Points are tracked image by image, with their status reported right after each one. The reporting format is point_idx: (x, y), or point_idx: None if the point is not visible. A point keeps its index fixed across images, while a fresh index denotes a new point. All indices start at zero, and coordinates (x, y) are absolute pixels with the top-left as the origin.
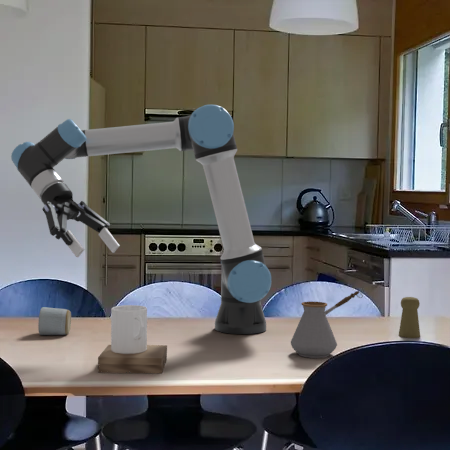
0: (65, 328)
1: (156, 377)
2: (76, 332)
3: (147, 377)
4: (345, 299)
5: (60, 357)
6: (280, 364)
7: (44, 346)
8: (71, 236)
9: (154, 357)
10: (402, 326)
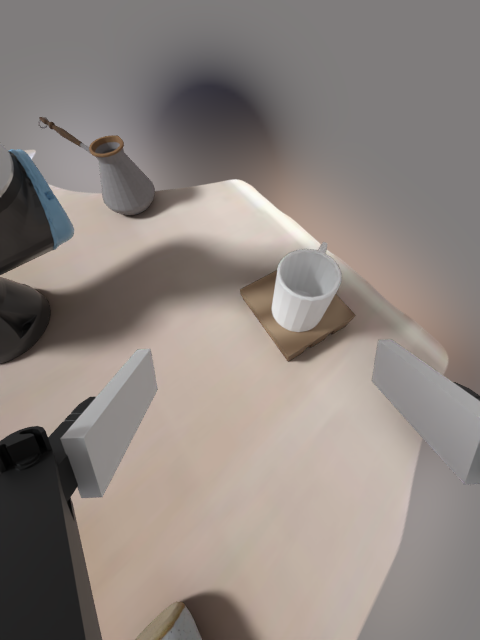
0: (184, 604)
1: None
2: (132, 613)
3: None
4: (66, 131)
5: (327, 437)
6: (191, 208)
7: (288, 547)
8: (458, 390)
9: None
10: None
